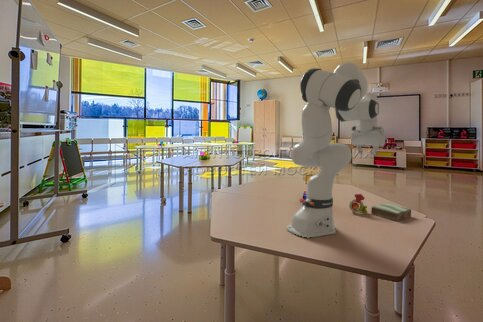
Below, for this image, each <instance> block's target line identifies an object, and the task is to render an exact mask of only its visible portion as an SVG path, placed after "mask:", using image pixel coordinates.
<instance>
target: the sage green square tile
mask: <svg viewBox="0 0 483 322" xmlns="http://www.w3.org/2000/svg"><path fill="white" fill-rule="evenodd" d="M411 209H412V208H407V207H404V206H400V205H395V204H391V203H386V202H385V203H382V204H378V205H375V206H372V207H371V210H370V211H371V212H370V213H371V215H373V216H376V217H377V216H378V217H380V218H384V219H387V220H391V221H394V222H398V221H402V220H406V219H408V218H411V216H412V210H411Z"/></svg>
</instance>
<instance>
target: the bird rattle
mask: <svg viewBox="0 0 483 322" xmlns="http://www.w3.org/2000/svg"><path fill="white" fill-rule="evenodd" d="M364 200H365V196H363V194H362V193H355V194H354V199H351V200H350V202H349V203H348V207H349V209H350V211H352V213H353V214H356V213H362V214H363V215H365V214H367V213H368V210H367V208H368V206H367V205H364V202H363V201H364Z"/></svg>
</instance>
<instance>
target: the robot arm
mask: <svg viewBox="0 0 483 322" xmlns="http://www.w3.org/2000/svg"><path fill="white" fill-rule="evenodd" d="M299 84H300V85H299V86H300V93H301V98H302V100H303V101H304V102H305V103H306V104H305V106H304V107H303V109H302V111H301V130H302V135H303V139H302V141H300V142H299V143H297V144H294V146H293V147H292V149H291V151H290V158H291V161H292V162H293V163H294V165H297V166H301V167H306V168H321V171H319V172H318V173H316V174H313V175H312V176H309V178H308V179H307V181H306V195H305V198H302V197H300V198H299V203H302V206H301V207H300V208H299V209H298V210H297V211H296V212H295V213H293V215H292V217H291V223H290V224H287V225H286V227H285V228H286V230H287V231H289V232H290V233H291V234H293V235H295V234H296V235H295V236H298V235H299V236H298V237H300V236H302V237H301V238H304V237H307V238H306V239H310V237H311V238H316V237H322V236H329V235H334V234H336V233H337V230H336V227H335V219H334V211H333V205H334V204H333V203H334V199H333V187H334V180H335V178H336V176H337V174H338V173H339V172H340V171H341V170H342V169H344V168H345V167H347V166H348V165H349V164H350V163H351V160H352V151H351V148H350V147H349V146H348V145H347V144H343V143H338V142H332V141H333V125H332V124H333V123H332V117H331V114H330V108H332V109H334V110H335V118H336V119H337V120H338V121H340V122H341V123H342V122H348V121H349V122H351V121H353V122H354V121H357V124H355V125H353V126H352V127H351V128H350V130H351V135H350V142H351V145H352V146H356V149H357V154H358V155H362V154H363V153H364V152H363V149H362V146H371V147H372V148H373V149H372V151H371V153H370V154H371V156H376V155H377V152H378V150H379V147H384V146H385V145H386V136H385V130H384V127H382V126H378V121H379V120H378V117H377V116H378V115H379V114H380V113H379V112H380V104H379V103H378V97H377V94H375V93H370V92H369V93H368V88H369V87H368V80H367V78H366V75H365V73H364V72H363V70H362V69H361V68H360V67H359V66H358V65H357V64H356V63H354V62H350V61H347V62H342V63H340V64H339V65H338V66H337V67H336V68H335V69H334V70H333V71H328V70H324V69H321V68H309V69H307V70H306V72H305V73H303V76H302V77H301V79H300V83H299Z"/></svg>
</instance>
